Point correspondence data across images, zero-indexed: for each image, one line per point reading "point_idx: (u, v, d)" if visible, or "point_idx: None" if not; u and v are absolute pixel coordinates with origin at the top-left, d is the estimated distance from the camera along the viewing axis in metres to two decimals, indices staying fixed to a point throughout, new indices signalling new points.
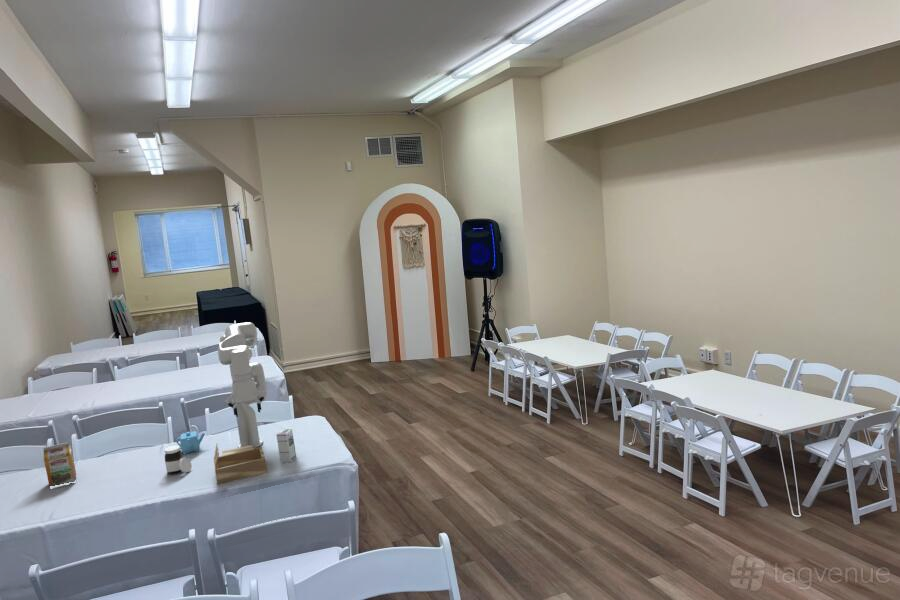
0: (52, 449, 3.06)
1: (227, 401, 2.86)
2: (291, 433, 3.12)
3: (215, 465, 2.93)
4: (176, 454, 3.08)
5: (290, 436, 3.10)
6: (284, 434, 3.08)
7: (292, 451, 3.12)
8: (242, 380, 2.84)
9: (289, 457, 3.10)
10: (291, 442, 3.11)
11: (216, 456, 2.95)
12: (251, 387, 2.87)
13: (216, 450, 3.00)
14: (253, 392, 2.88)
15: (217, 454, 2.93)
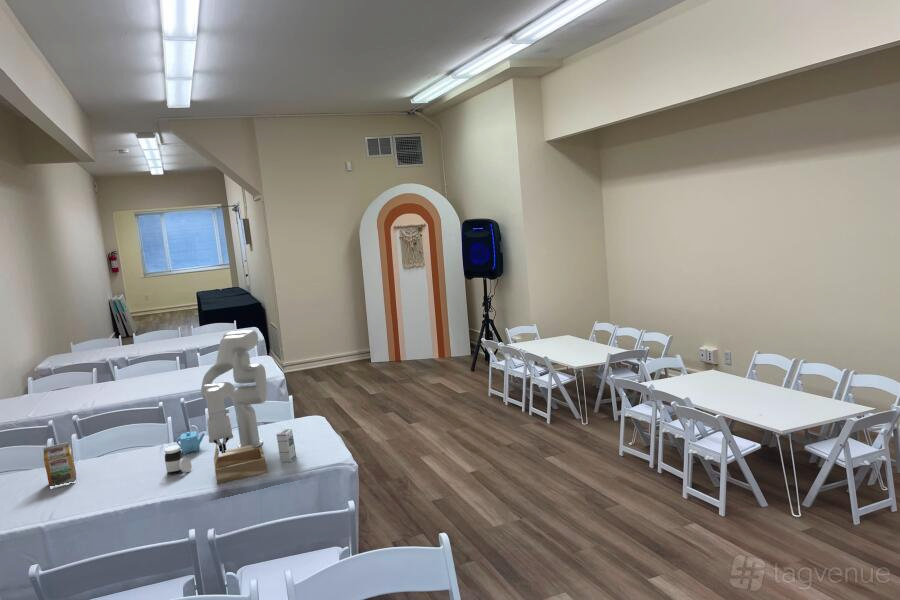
0: (52, 449, 3.06)
1: (211, 441, 2.96)
2: (291, 433, 3.12)
3: (215, 465, 2.93)
4: (176, 454, 3.08)
5: (290, 436, 3.10)
6: (284, 434, 3.08)
7: (292, 451, 3.12)
8: (216, 418, 2.93)
9: (289, 457, 3.10)
10: (291, 442, 3.11)
11: (216, 456, 2.95)
12: (225, 424, 2.96)
13: (216, 450, 3.00)
14: (227, 429, 2.97)
15: (217, 454, 2.93)
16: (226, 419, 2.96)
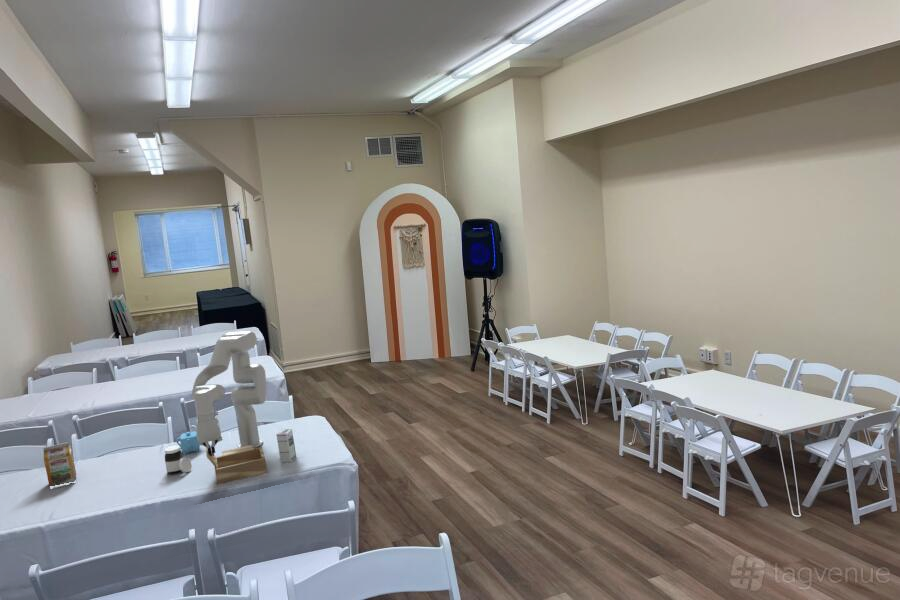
0: (52, 449, 3.06)
1: (200, 443, 2.94)
2: (291, 433, 3.12)
3: (215, 465, 2.93)
4: (176, 454, 3.08)
5: (290, 436, 3.10)
6: (284, 434, 3.08)
7: (292, 451, 3.12)
8: (205, 420, 2.91)
9: (289, 457, 3.10)
10: (291, 442, 3.11)
11: None
12: (214, 427, 2.94)
13: None
14: (216, 431, 2.95)
15: (207, 457, 2.91)
16: (215, 421, 2.94)
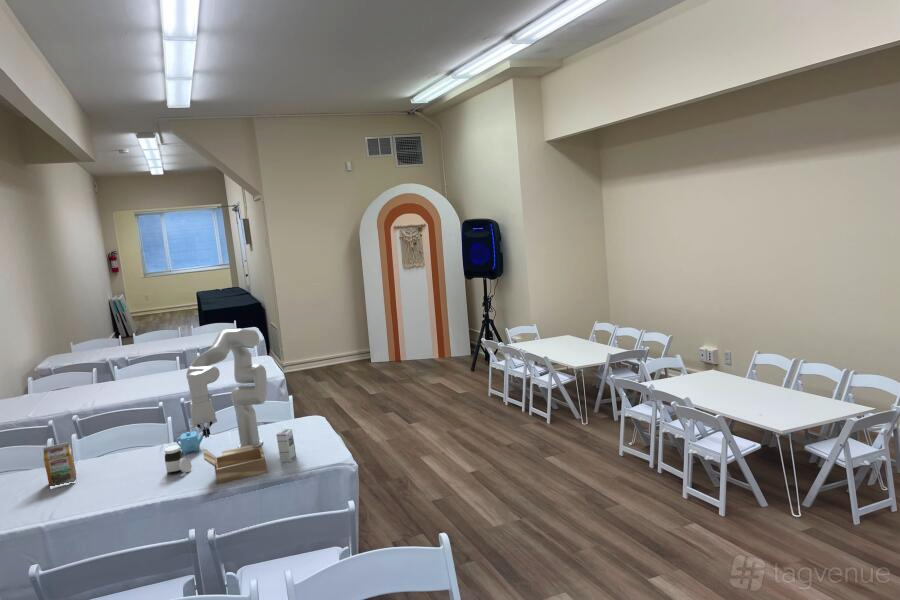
0: (52, 449, 3.06)
1: (194, 425, 2.93)
2: (291, 433, 3.12)
3: None
4: (176, 454, 3.08)
5: (290, 436, 3.10)
6: (284, 434, 3.08)
7: (292, 451, 3.12)
8: (199, 402, 2.89)
9: (289, 457, 3.10)
10: (291, 442, 3.11)
11: None
12: (208, 408, 2.92)
13: (206, 455, 2.98)
14: (211, 413, 2.93)
15: (205, 459, 2.91)
16: (209, 403, 2.92)
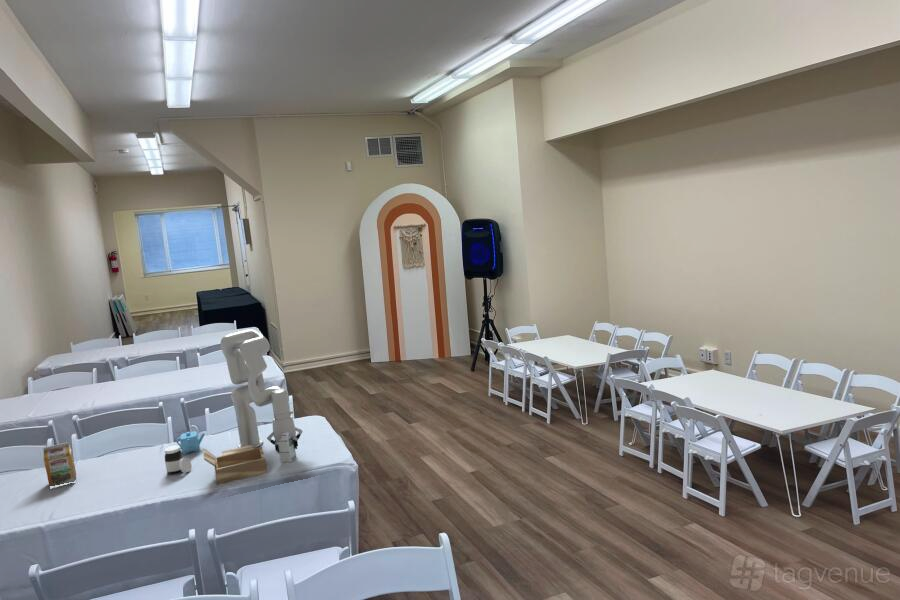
0: (52, 449, 3.06)
1: (269, 439, 3.08)
2: None
3: None
4: (176, 454, 3.08)
5: None
6: (284, 434, 3.08)
7: (292, 451, 3.12)
8: (282, 418, 3.06)
9: (289, 457, 3.10)
10: (291, 442, 3.11)
11: None
12: (290, 425, 3.09)
13: (206, 455, 2.98)
14: (292, 429, 3.10)
15: None
16: (290, 420, 3.09)
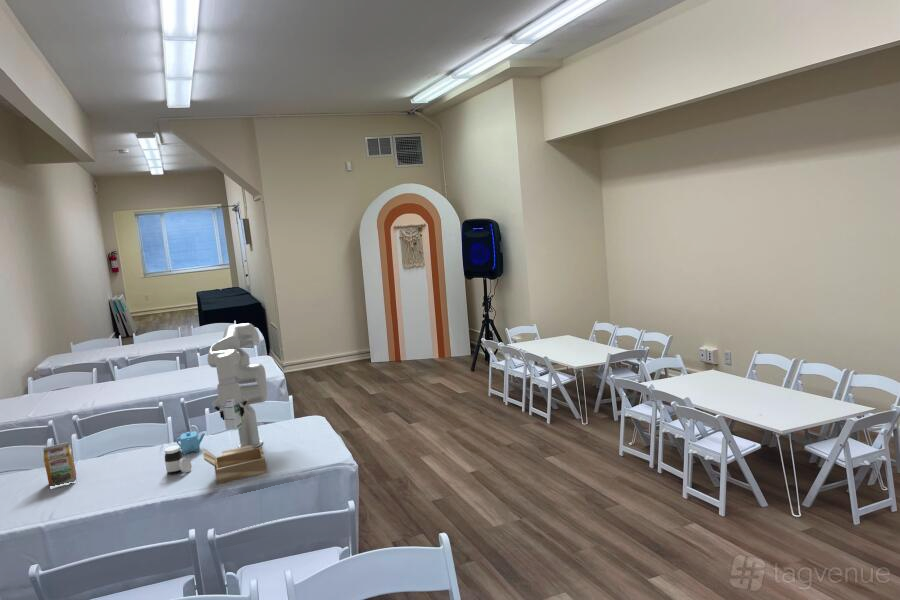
0: (52, 449, 3.06)
1: (213, 405, 2.94)
2: None
3: None
4: (176, 454, 3.08)
5: None
6: (229, 400, 2.94)
7: (238, 419, 2.98)
8: (226, 383, 2.92)
9: (235, 424, 2.96)
10: (237, 409, 2.98)
11: None
12: (235, 390, 2.96)
13: (206, 455, 2.98)
14: (237, 395, 2.96)
15: None
16: (236, 385, 2.96)
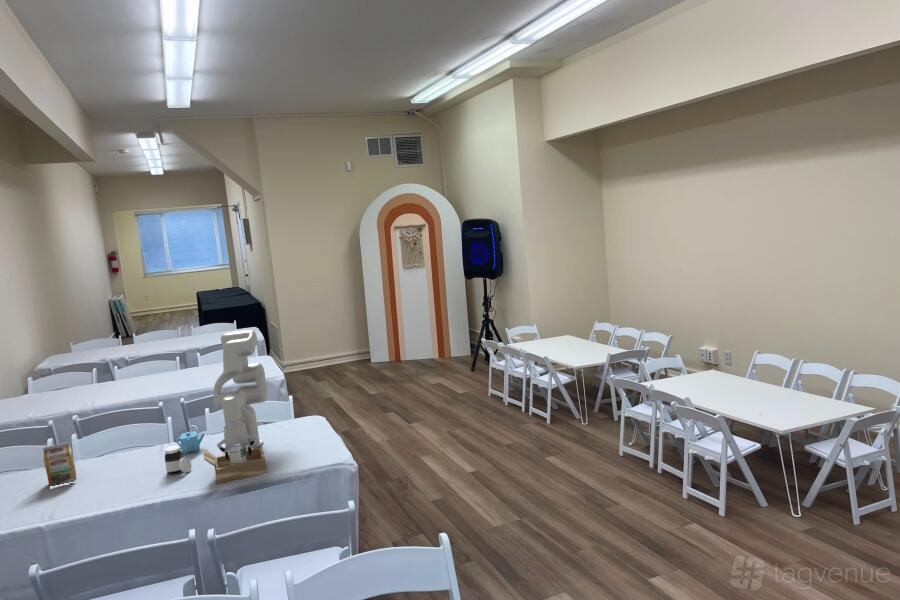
0: (52, 449, 3.06)
1: (219, 446, 2.98)
2: None
3: None
4: (176, 454, 3.08)
5: (242, 446, 3.01)
6: (235, 445, 2.98)
7: None
8: (233, 426, 2.96)
9: None
10: (243, 453, 3.02)
11: None
12: (242, 432, 2.99)
13: (206, 455, 2.98)
14: (244, 437, 3.00)
15: None
16: (242, 427, 2.99)
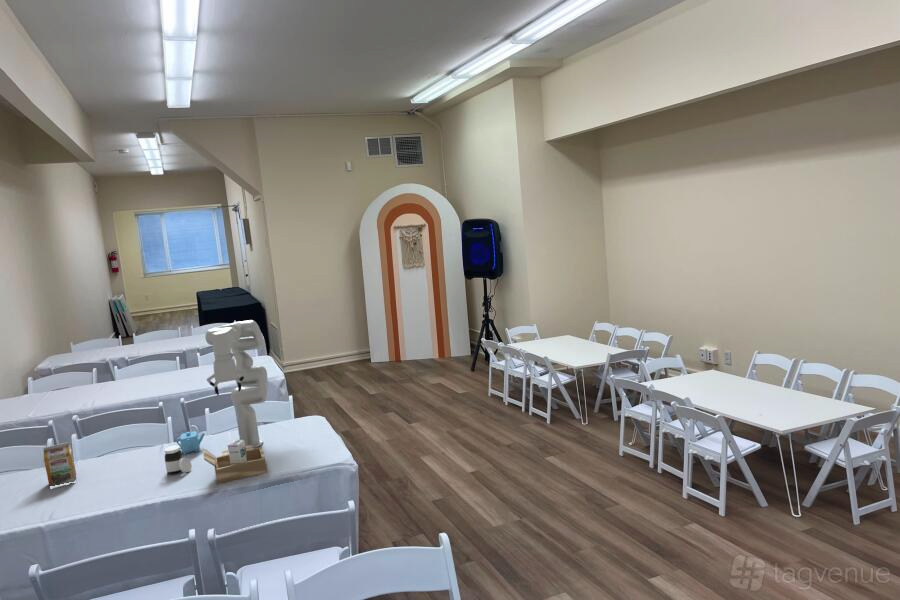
0: (52, 449, 3.06)
1: (208, 380, 3.01)
2: (243, 444, 3.02)
3: None
4: (176, 454, 3.08)
5: (242, 446, 3.01)
6: (235, 445, 2.98)
7: None
8: (222, 360, 2.99)
9: None
10: (243, 453, 3.02)
11: None
12: (231, 367, 3.02)
13: (206, 455, 2.98)
14: (233, 372, 3.03)
15: None
16: (232, 362, 3.02)
